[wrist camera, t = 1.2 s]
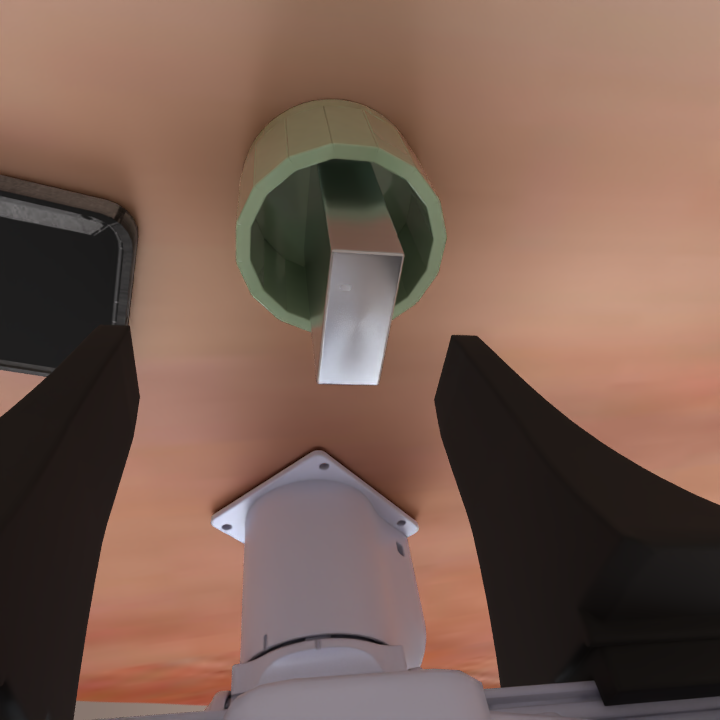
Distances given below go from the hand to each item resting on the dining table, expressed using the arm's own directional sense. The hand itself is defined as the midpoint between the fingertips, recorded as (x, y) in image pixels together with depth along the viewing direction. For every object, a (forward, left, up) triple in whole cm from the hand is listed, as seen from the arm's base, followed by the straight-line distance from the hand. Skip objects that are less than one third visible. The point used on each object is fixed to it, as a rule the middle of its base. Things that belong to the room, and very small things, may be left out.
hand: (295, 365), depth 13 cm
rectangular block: (-1, -1, -9) cm, 10 cm away
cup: (-1, -1, -10) cm, 10 cm away
